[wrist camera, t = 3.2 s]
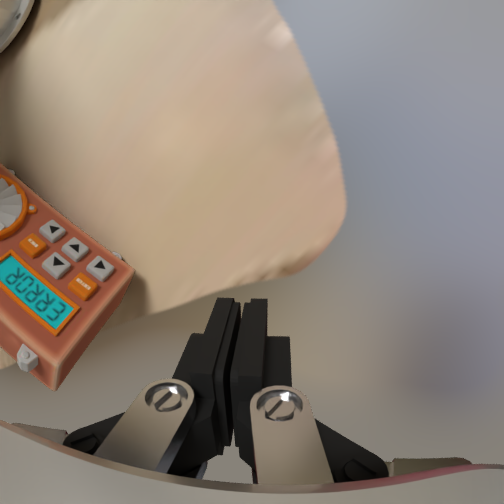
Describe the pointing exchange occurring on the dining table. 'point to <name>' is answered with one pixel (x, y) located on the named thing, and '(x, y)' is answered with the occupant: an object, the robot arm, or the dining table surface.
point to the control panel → (51, 284)
